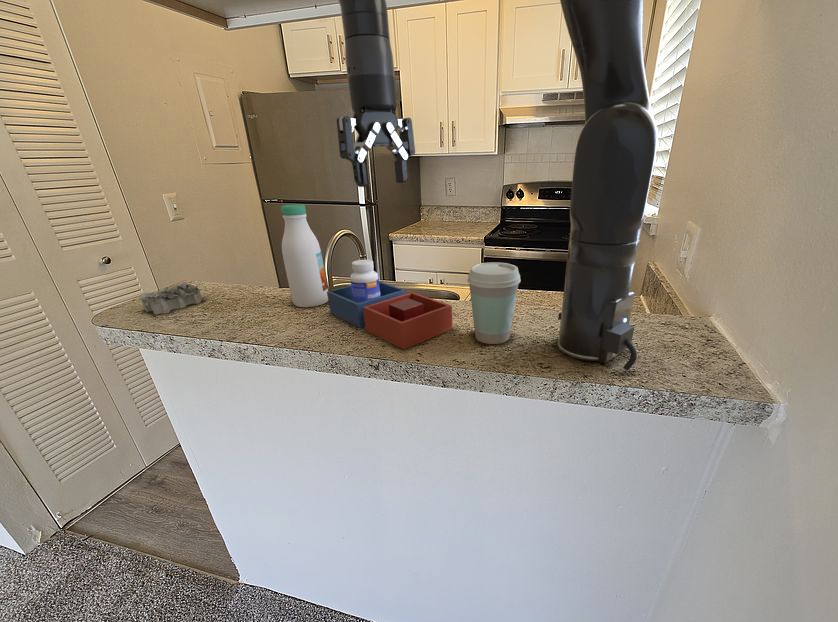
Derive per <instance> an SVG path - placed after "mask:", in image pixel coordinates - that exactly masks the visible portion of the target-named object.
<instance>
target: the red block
mask: <svg viewBox="0 0 838 622" xmlns="http://www.w3.org/2000/svg"><path fill="white" fill-rule="evenodd" d="M389 313H390V317H392V318H394V319H396V320H399V321H401V322H403V321H405V320H408V319H411V318H414V317H417V316H420V315H422V314H424V304H423V303H420V302H417V301H414V300H411V299H409V298H407V299H404V300H401V301H398V302H395V303H392V304H389Z"/></svg>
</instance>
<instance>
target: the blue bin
mask: <svg viewBox="0 0 838 622" xmlns="http://www.w3.org/2000/svg"><path fill="white" fill-rule="evenodd" d="M379 287H380V295H381V297H377V298H374V299H371V300H367V301H364V302H361V303H357V302H354V300H353V294H352V287H351V284H350V285H347V286H343V287H339V288H335V289H331V290H328V291H327V296H328V301H327V303H328V306H329V307H328V308H329V313H330V314H331V315H333V316H335V317H337V318H339V319H341V320H343V321H345V322H347V323H349V324H351V325H353V326H355V327H357V328H359V329H362V328H366V327H365V320H364V313H363V307H365V306H368V305H371V304H375V303H378V302H381V301H384V300H388V299H391V298H394V297H398V296H401V295H404V294H407V290H406V289H404V288H401V287H398V286H395V285H392V284H390V283H386V282H384V281H380V280H379Z"/></svg>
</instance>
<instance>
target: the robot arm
mask: <svg viewBox="0 0 838 622" xmlns="http://www.w3.org/2000/svg"><path fill="white" fill-rule="evenodd" d="M337 1H338V3H339V6H340V14H341V21H342V22H341V23H342V29H343V38H344V55H345V66H346V74H347V82H348V90H349V97H350V105H351V109H352V110H353V117H350V116H348V115H345V116H339V117H337V118H336V129H337V130H336V131H337V138H338V139H337V140H338V150H339V156H340V158H341V159H343V160H344V159H345V160H347V161H349V162H350V163H351V165H352V172H353V180H354V182H355V184H357V185H356V186H357V187H359V188H365V187H366V188H367V187H368V185H369V183H368V176H367V169H366V162H364V161H365V159H366V156H367V153H368V152H369V151H370V150H371V148H373V147H385V148H386V149H387V150H388V151H390V153H391V155H392V156H393V158H394V159H395V160H394V173H395V181H396V183H397V184H406V183H407V180H408V176H409V175H408V165H407V160H408V158H410V157H412V156H415V154H416V146H415V136H414V128H413V120H412V119H411V117H403V118H398V117H397V113H396V112H397V108H398V99H397V88H396V77H395V75H396V74H395V65H394V56H393V55H394V54H393V49H392V46H391V44H392V43H391V37H390V35H391V34H390V27H389V26H390V25H389V23H390V22H389V14H388V13H389V12H388V5H387V0H337ZM559 3H560V6H561V10H562V15H563V19H564V22H565V25H566V30H567V33H568V36H569V39H570V43H571V45H572V48H573V52H574V55H575V58H576V62H577V64H578V69H579V73H580V79H581V87H582V94H583V107H584V108H583V109H584V125H583V126H582V128H581V130H580V133H579V135H578V138H577V141H576V147H575V152H574V159H573V160H574V161H573V170H572V171H573V172H572V180H571V181H572V182H571V192H570V193H571V194H570V203H569V204H570V205H569V220H570V230H569V231H570V232H569V240H568V250H567V259H566V267H565V277H564V283H563V284H564V286H563V295H562V303H561V311H560V312H559V313H558V315H557V316H558V317H557V321H560V323H559V331H558V339H557V345H556V346H557V348H558V350H559V351H560V352H561V353H563V354H564V355H566V356H568V357H570V358H573V359H578V360H581V361H588V362H589V361H590V362H599V363H602V364H607V363H608V362H609V361H611V360H612V359H614V358H616V357H617V356H618V355H620V354H621V353H623V352H624V351H625V350H626V349H628V351H629V353H630V358H629V359H628V361H627V362H626V363H625V364H624V365H623V369H624V370H625V371H630V369H631V368H632V366H633V365H634V364H635V363H636V361H637V359H638V353H637V350H636V348H635V346H634V344H633V343H632V342H633V336H634V331H635V325H632V324H630V321H631V316H632V310H633V306H634V301H635V295H636V294H635V292H634V291H631V286H632V282H633V281H632V280H633V276H634V270H635V265H636V261H637V254H638V250H639V243H640V240H641V235H642V229H643V225H644V219H645V214H646V209H647V208H646V207H647V202H648V196H649V191H650V186H651V182H652V175H653V170H654V166H655V160H656V154H657V149H658V144H659V129H658V125H657V123H656V120H655V117H654V112H653V107H652V102H651V98H650V93H649V92H650V91H649V88H648V87H649V86H648V82H647V76H646V70H645V69H646V68H645V61H644V49H643V48H644V47H643V31H644V30H643V29H644V28H643V27H644V0H559ZM354 131H356V132H357V136H356V139H355V140H354V138H353V132H354ZM397 131H398V132H399V135H398V133H397Z"/></svg>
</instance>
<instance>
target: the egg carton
mask: <svg viewBox="0 0 838 622" xmlns="http://www.w3.org/2000/svg"><path fill="white" fill-rule="evenodd" d="M201 291H203V288H199V287H198V286H197V285H196V286H195V285H193V284H191V283H188V282H186V281H183V282H181V283H180V284H177V285H176V286H175V285H174V286H171V287H165V288H164V289H162V290H157V291H154V292H145V293H143V294H141V295H140V296H139V298H138V301H141V303H142V306H143V308H144V310H145V312H147V313H150V312H153V314H154V315H160V314H161V315H163V314H168V313H169V314H170V313H171V311H173V310H177V309H179V310H180V309H184V308H187V306H189V305H197V304H200V303H201V302H202V301H203V296H202V294H201Z"/></svg>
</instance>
